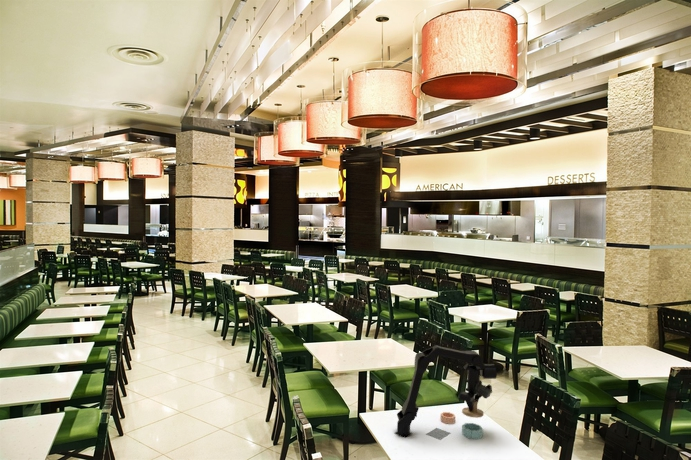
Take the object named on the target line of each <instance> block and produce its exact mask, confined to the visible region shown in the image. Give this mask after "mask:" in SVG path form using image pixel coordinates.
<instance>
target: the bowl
mask: <svg viewBox="0 0 691 460" xmlns="http://www.w3.org/2000/svg"><path fill="white" fill-rule="evenodd" d="M483 432H484V429H483V427H482V426H481V425H480V424H477V423H474V422H464V423H463V424H462V425H461V433H462V436H463V437H465V438H466V439H467V438H468V439H469V440H470V439H471V440H479V439H481V438H482V436H483Z"/></svg>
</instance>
